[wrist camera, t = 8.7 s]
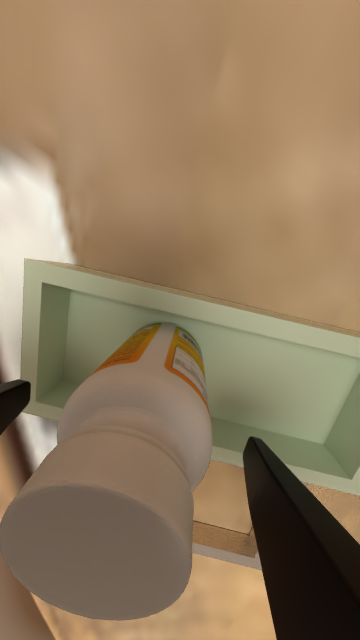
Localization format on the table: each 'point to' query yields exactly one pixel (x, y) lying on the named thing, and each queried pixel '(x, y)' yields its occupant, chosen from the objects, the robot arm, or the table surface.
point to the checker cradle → (226, 543)
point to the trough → (205, 364)
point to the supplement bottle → (118, 484)
